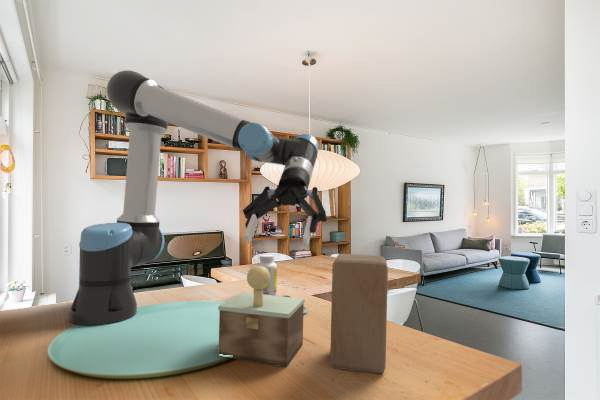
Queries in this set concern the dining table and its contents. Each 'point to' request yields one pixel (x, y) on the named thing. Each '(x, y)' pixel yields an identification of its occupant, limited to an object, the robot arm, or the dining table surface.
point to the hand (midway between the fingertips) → (275, 240)
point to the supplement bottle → (272, 268)
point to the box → (261, 337)
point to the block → (359, 313)
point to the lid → (262, 298)
